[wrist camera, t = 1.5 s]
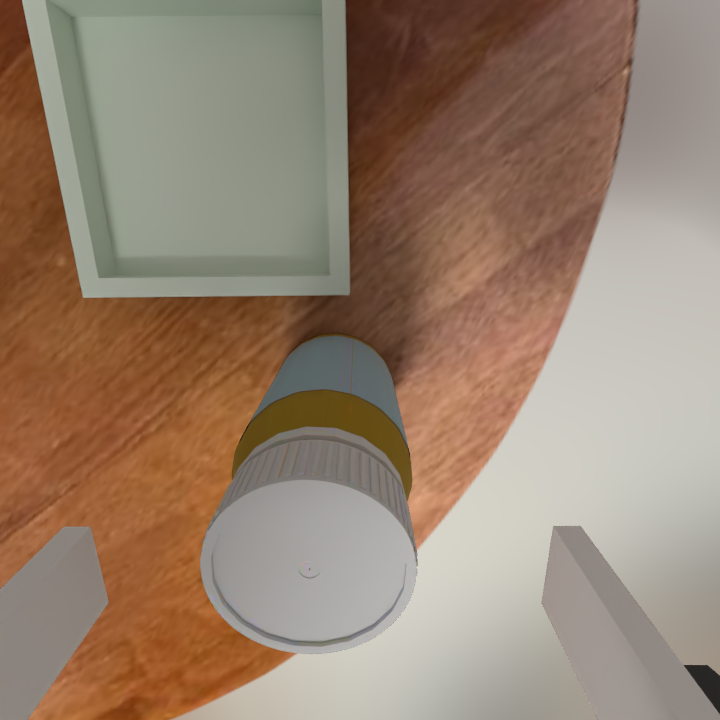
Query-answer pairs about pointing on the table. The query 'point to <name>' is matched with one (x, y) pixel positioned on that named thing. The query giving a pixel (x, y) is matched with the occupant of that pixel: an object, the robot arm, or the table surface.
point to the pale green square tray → (199, 143)
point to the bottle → (317, 507)
